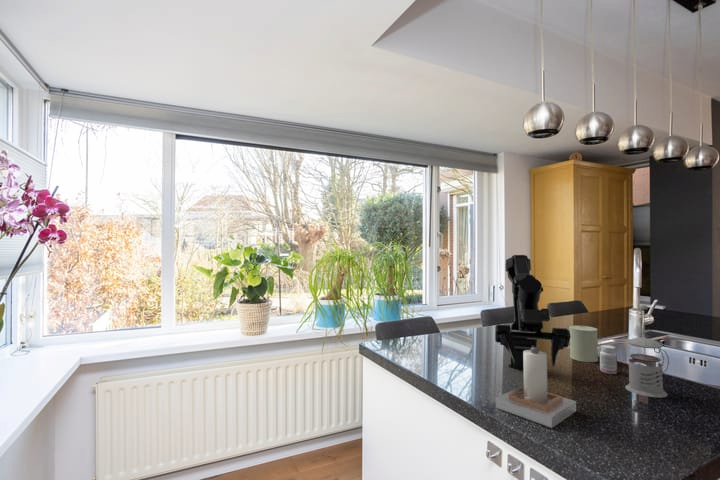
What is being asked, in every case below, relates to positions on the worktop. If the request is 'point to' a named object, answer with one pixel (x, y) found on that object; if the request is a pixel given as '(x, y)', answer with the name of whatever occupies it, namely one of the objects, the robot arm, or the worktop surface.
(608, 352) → the pill bottle
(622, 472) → the worktop surface
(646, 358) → the french press
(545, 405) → the press bed
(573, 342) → the can
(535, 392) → the white bottle
